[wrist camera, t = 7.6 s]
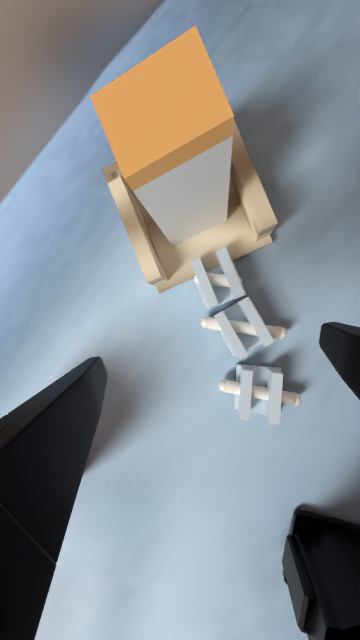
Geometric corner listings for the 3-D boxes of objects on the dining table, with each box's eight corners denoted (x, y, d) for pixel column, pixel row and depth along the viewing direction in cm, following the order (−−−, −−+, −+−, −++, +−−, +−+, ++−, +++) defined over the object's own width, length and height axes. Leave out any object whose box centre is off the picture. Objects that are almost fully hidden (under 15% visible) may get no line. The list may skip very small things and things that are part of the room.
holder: (271, 243, 18) (281, 230, 15) (160, 292, 20) (149, 289, 17) (224, 131, 19) (225, 97, 16) (119, 190, 20) (102, 169, 18)
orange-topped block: (226, 220, 18) (234, 116, 9) (172, 246, 19) (123, 178, 9) (208, 177, 18) (195, 25, 9) (155, 205, 19) (90, 96, 10)
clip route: (258, 242, 18) (262, 233, 16) (305, 408, 18) (315, 420, 16) (185, 265, 20) (181, 260, 18) (229, 422, 19) (230, 434, 18)
